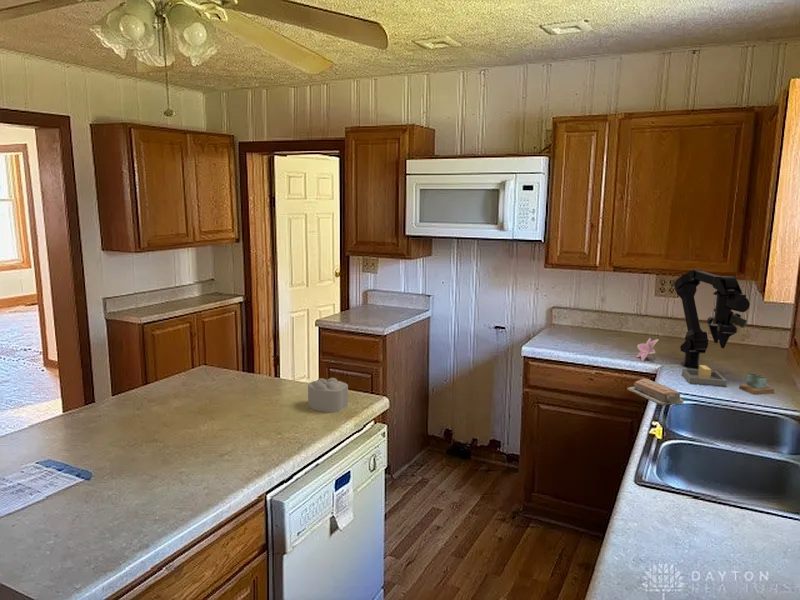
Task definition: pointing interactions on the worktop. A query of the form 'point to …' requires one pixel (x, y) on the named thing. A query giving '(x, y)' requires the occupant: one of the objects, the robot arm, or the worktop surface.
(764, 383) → the ticket holder
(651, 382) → the packaged product
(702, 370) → the stub
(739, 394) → the worktop surface
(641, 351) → the lily
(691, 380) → the stub tray
